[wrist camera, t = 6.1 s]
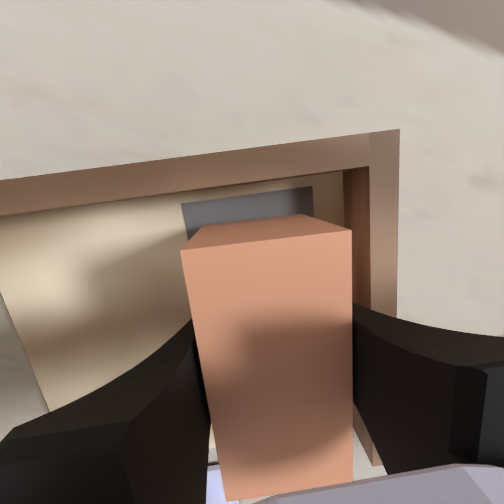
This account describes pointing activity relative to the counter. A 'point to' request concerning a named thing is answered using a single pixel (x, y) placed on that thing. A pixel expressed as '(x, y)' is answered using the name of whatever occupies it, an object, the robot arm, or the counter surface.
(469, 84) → the counter surface
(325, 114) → the counter surface
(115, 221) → the tray
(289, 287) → the terracotta bar
